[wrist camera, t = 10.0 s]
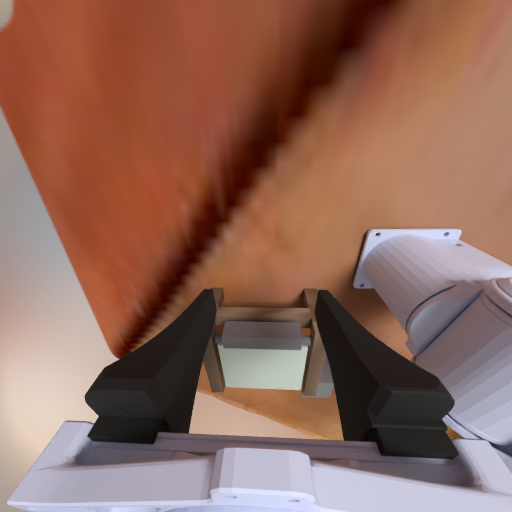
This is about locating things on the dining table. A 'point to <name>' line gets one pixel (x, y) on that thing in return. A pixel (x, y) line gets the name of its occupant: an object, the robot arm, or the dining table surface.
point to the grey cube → (324, 382)
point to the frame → (263, 314)
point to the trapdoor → (263, 354)
